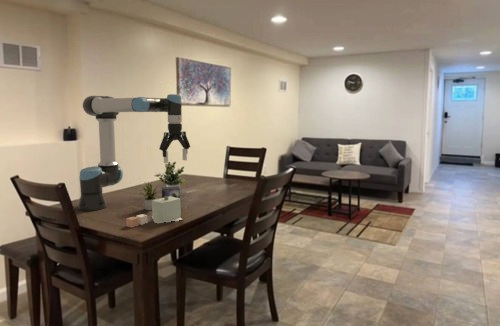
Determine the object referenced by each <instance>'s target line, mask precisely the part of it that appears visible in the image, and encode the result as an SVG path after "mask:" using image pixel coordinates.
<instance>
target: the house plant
mask: <svg viewBox="0 0 500 326" xmlns="http://www.w3.org/2000/svg"><path fill="white" fill-rule="evenodd" d="M144 185H145V187H146V188H145V187H143V186H142V185H141V184H140V185H139V188H141V189H143V190H144V193H143V192H140V191H139V194H138V196H139V195H143V197H144V198H143V202H144V206H145V207H144V208H145V210H146V211H152V200H156V199H157V197H156V196H157V195H158V192H157V191H159V190H157V188H158V185H156V187H155V188H154V189H153V185H152V183H151V182H148V183H147V182H145V181H144Z"/></svg>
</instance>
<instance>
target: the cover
mask: <svg viewBox="0 0 500 326" xmlns="http://www.w3.org/2000/svg"><path fill="white" fill-rule="evenodd" d="M181 205H182V204H181V198H175V197H171V196H169V197H167V196H166V197H164V198H162V197H160V198H156V200H152V210H151V211H152V214H151V218H152V217H153V218H152V220H153V219H154V220H158V221H161V222H165V221H169V220H172V219H175V218H179V217H181V218H182V209H181V208H182V207H181ZM154 220H153V221H154Z"/></svg>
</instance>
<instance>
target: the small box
mask: <svg viewBox="0 0 500 326" xmlns="http://www.w3.org/2000/svg"><path fill="white" fill-rule="evenodd" d="M180 189H181V188H180V187H179V186H162V187H161V198H164V197H166V196H167V197H169V196H171V197H175V198H180V197H181V195H180V194H181V192H180ZM180 199H181V198H180Z"/></svg>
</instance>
